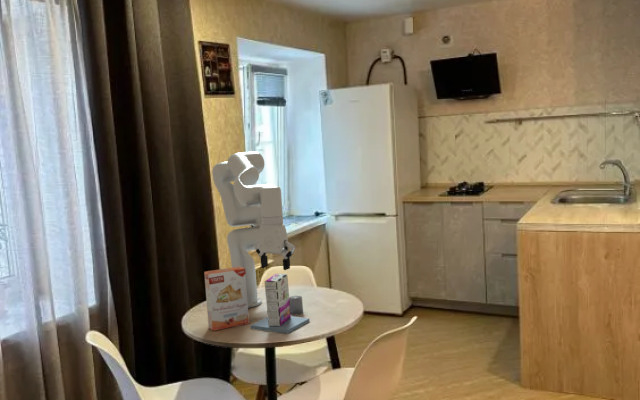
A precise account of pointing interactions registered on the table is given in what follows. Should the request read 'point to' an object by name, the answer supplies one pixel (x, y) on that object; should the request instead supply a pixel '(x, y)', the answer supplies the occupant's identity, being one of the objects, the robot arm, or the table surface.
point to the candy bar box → (277, 299)
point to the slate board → (285, 328)
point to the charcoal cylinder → (296, 305)
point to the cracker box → (226, 298)
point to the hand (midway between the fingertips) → (275, 268)
